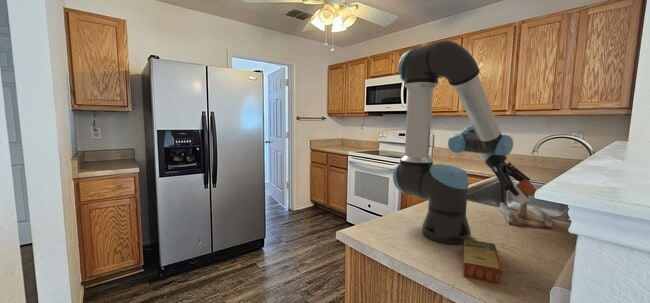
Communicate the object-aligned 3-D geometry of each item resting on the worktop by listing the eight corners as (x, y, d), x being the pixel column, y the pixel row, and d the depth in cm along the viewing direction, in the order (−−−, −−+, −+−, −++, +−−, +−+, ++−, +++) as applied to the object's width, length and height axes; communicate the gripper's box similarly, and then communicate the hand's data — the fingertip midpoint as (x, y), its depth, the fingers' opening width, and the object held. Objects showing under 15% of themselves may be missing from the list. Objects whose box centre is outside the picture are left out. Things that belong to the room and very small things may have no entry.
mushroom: (529, 214, 113) (532, 178, 111) (539, 221, 105) (542, 182, 104) (507, 213, 115) (510, 176, 113) (515, 219, 107) (518, 180, 106)
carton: (462, 277, 70) (463, 261, 70) (462, 251, 85) (463, 237, 84) (501, 286, 67) (502, 269, 66) (494, 256, 81) (495, 242, 81)
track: (508, 224, 105) (509, 214, 104) (499, 211, 120) (500, 202, 119) (551, 229, 100) (552, 218, 100) (535, 215, 115) (536, 205, 115)
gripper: (497, 159, 127) (534, 199, 117) (470, 164, 112) (510, 210, 102) (511, 148, 122) (551, 189, 112) (485, 152, 108) (528, 199, 97)
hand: (532, 199), depth 107 cm, fingers open, 13 cm apart
